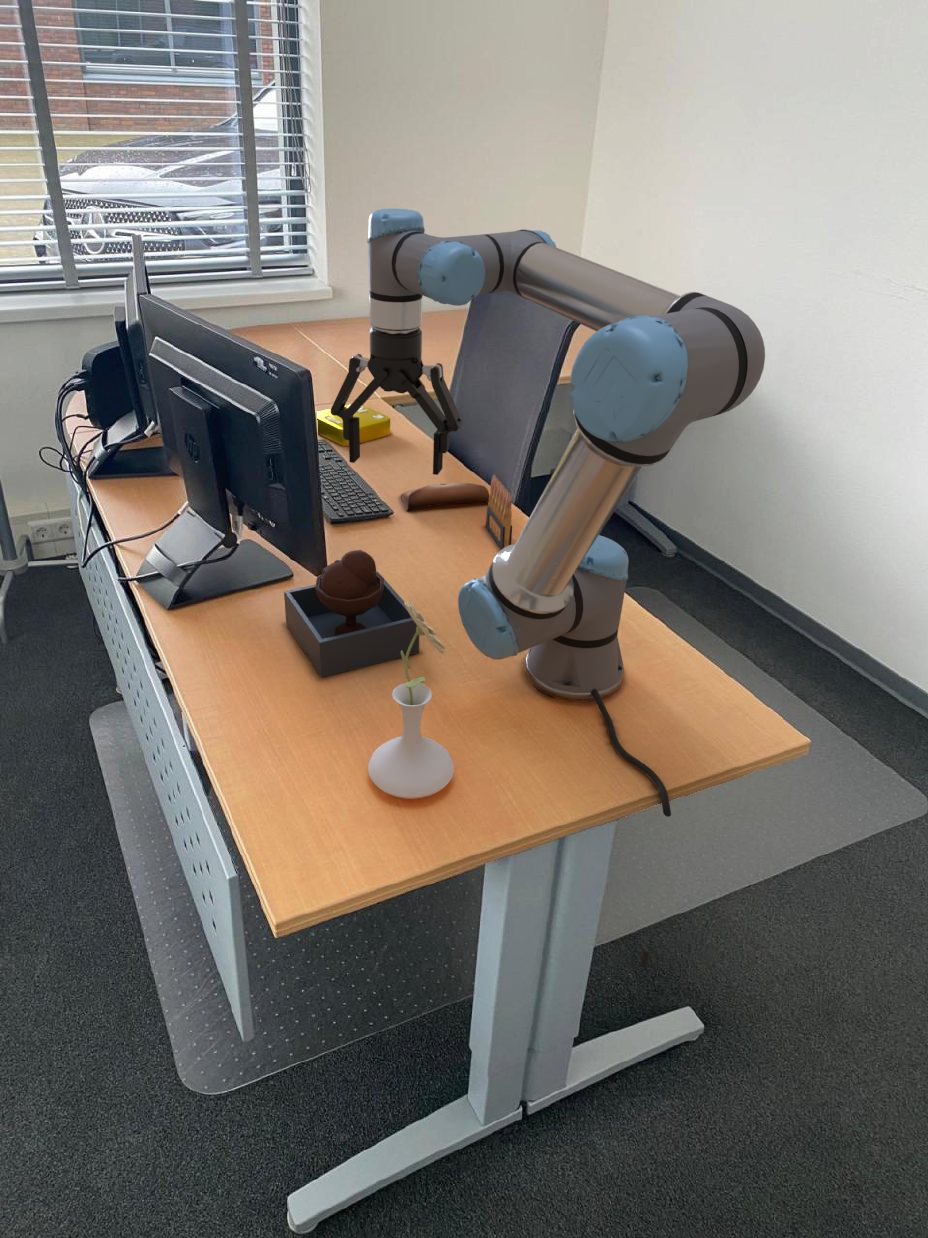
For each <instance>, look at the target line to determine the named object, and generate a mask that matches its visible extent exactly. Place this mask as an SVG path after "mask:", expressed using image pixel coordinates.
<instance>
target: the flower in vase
mask: <svg viewBox="0 0 928 1238" xmlns="http://www.w3.org/2000/svg"><path fill="white" fill-rule="evenodd" d="M404 604H405V607H406V609H407V611H408V612H409V614H410V616H411V617H412V619H413V620H414V622H415V623H416V625H417V628H416V633H415V635H414V637H413V639H412V641H411V643H410V645H409V648H408V650H407V653H406V656H405V655H404V653H403V651H401V656H402V657H401V659H402V661H403V663H404V669H405V676H406V681H407V682H404V683H401V684H399V685H398V686H396V687H395V688H394V689H393V690H392V694H391V696H392V699H393V700H394V701H395V702H396V703H397V704H398V706H399V708H400V711H401V716H402V725H403V726H402V734H401V735H399V736H396V737H393V738H391V739H389V740H387V741H385V742H384V743H382V744H381V745H379V746H378V747H377V748H376V749H375V750H374V751H373V753H372V755H371V756H370V759H369V760H368V765H367V772H368V777H369V778H370V780H371V781H372V783H373V784H374V785H375V786H376V787H377V788H378V789H379V790H381V791H382V792H383V793H385V794H387V795H389V796H392V797H395V798H400V799H408V800H409V799H410V800H413V799H415V800H417V799H424V798H427V797H430V796H433V795H435V794H437V793H438V792H440V791H441V790H442V789H444V788H445V787H446V786H447V785H448V784H449V783H450V782H451V780H452V778H453V776H454V774H455V773H454V772H455V764H454V761H453V758H452V756H451V754H450V753H449V751H448V750H447V749H446V747H444V746H443V745H442V744H440V743H438V742H437V741H435V740H433V739H431V738H429V737H426V736H422V731H421V725H422V724H421V723H422V715H423V712H424V709H425V706H426V705H427V704H428V703H430V702H431V700H432V698H433V691H432V690H431V688H430V687H429V686H427V685H426V684H423V683H424V682H425V681H426V678H425V677H424V676H418V677H415V678H413V679H410V673H409V670H411V665H410V663H409V656H410V655H409V653H410V650H411V648H412V646H413V643H414V641H415V639H416V637H417V636H418V635H419V636H422V637H423V636H424V637H425V638H426V640H427V641H428V642H429V643H430V644H431V646H433V647H434V649H436V651H437V652H439V654H441V655H442V656H444V655H445V653H446V651H445V648H446V646H445V645H444V643H443V642H442V641H440V640H439V639H438V638H437V637H436V636H437V632H436V631H435V630H434V628H432V627H430V626H428V624H427V623H426V619H425V617H424V615H423V614H422V612H421V611H420V610H419V611H418V610H417V608H416V606H415V605H414V603H413V602H412V601H411V600H410V601H409V602H408V600H406V601H404Z"/></svg>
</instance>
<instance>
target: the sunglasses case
mask: <svg viewBox="0 0 928 1238" xmlns="http://www.w3.org/2000/svg"><path fill="white" fill-rule="evenodd" d="M489 493H490V491H489V490H488V488H487V487H486V486H485V485H482V484H477V483H473V482H451V483H439V484H429V485H428V484H427V485H424V486H422V487H420V488H415V489H411V490H407V491H405V492H403V493H401V494H400V498H401V502H402V504H403V506H404V508H405V510H406V511H409V509H410V510H414V509H421V508H427V507H434V506H437V505H453V504H467V503H476V502H477V503H478V502H486V503H489Z"/></svg>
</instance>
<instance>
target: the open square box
mask: <svg viewBox="0 0 928 1238" xmlns="http://www.w3.org/2000/svg"><path fill="white" fill-rule="evenodd" d="M376 573H377V574H379V575H380V576H382V574H381V573H379V571H377V570H376ZM315 586H316V584H311V585H307V586H302V587H297V588H293V589H288V590H284V591H283V598H284V599H283V600H284V614H285V625H286V627H287V628H288V630H289V631H290V633H291V634H292V636H293V637H294V639H295V640H296V641H297V643H298V645H299V646H300V648H301V649H302V651H303V652H304V654H305V656H306V657H307V658H308V660H309V661H310V663H311V664H312V667H313V668H314V669H315V670H316V672H317V673H318V675H319V677H320V678H327V677H330V676H334V675H338V674H341V673H345V672H349V671H354V670H357V669H361V668H365V667H368V666H372V665H376V664H380V663H384V662H389V661H392V660H396V659H400V658H402V656H401V651H403V653H404V655H405V656H406V653H407V650H408V648H409V645H410V643H411V641H412V639H413V637H414V635H415V633H416V628H417V625H416V623H415V622H414V620H413V619H412V617H411V616H410V614H409V612H408V611H407V609H406V607H405V604H404V602H405V601H404V599H403V598H402V597H401V596H400V594H398V592H396V591H395V589H394V588H393V587H392V586H391V585H390V584H389V582H388V581H387V580H386V579H385V578H384V589H383V594H382V597H381V599H380V601H379V603H378V604H376V605H375V606H374V607H373V608H371V609H370V610H368V611H367V612H365V613H364V614H362V615H358V616H356V622H357V623H361V624H363V625H364V626H365V627H366V628H367V629H363V630H359V631H354V632H350V633H346V634H342V635H338V636H335V630H336V627H338V626H339V625H341V624H342V623H346V617H345V616H343V615H338V614H336V613H334V612H333V611H331V610H330V609H329V608H328V607H326V606H325V605H324V604H323V603H321V601H320V600H319V598H318V597H317V593H316V590H315ZM419 653H420V635H418V636H417V637H416V639H415V641H414V643H413V646H412V648H411V650H410V653H409V655H408V656H410V655H415V654H419Z"/></svg>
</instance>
